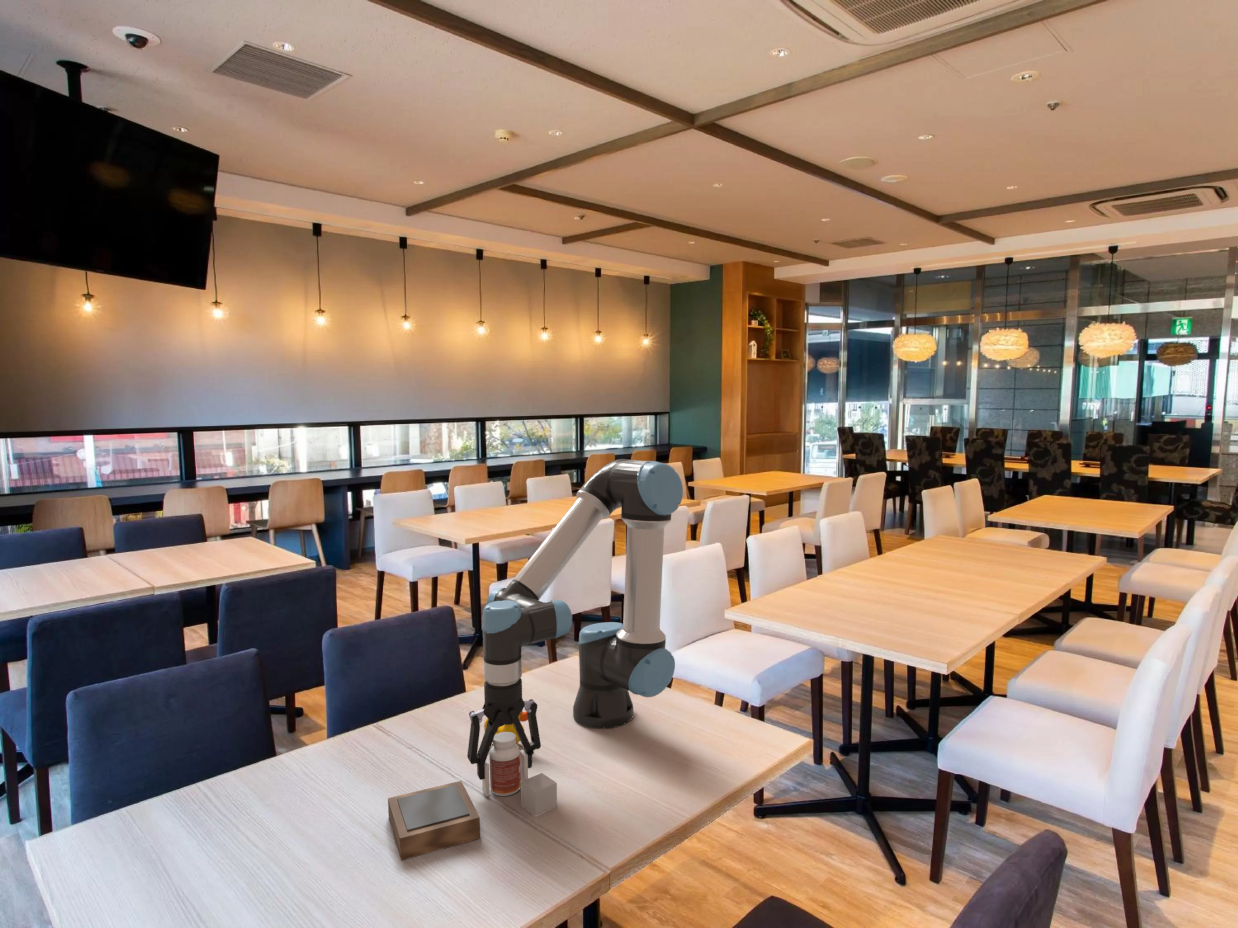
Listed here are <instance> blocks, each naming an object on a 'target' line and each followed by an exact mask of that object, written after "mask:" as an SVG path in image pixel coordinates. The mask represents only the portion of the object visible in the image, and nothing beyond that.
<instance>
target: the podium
mask: <svg viewBox="0 0 1238 928" xmlns="http://www.w3.org/2000/svg"><path fill="white" fill-rule="evenodd" d="M387 809H388V820H389V825H390V828H391V830H392V835H393V837H394V841H395V844H396V849H397V852H398V855H399V859H400V861H404V860H406V859H411V858H414V857H417V856H422V855H425V854H428V853H429V854H430V853H432V852H436V851H439V850H444V849H447V848H450V847H453V846H457V845H461V844H462V845H463V844H464V843H467V842H472V841H475V840H480V839H481V817H480V815H479V812H478V811H477V808H476V807H475V805H474V802H473V801H472V799H471V797H470V795H469V793H468V791H467V789H466V787H465V785H464V783H463V781H462V780H458V781H453V782H450V783H446V784H442V785H438V786H434V787H429V788H424V789H421V790H417V791H413V792H408V793H403V794H400V795H396V796H392V797H388V798H387Z"/></svg>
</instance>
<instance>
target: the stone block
mask: <svg viewBox="0 0 1238 928" xmlns="http://www.w3.org/2000/svg"><path fill="white" fill-rule="evenodd" d="M557 789H558V784H557V781H556V780H553V779H551V778H550V777H549V776H548V775H546V774H544V773H543V772H541V773H538V774H535V775H533V776H531V777H528V779H526V780H524V781H521V787H520V804H521V807H522V808H524V809H525V810H526V811H528V812H529V813H530V814H531V815H533V816H534V817H539V816H541V815H543V814H545V813H547V812H549V811H551V810H554V809H556V808H557V807H558V790H557Z"/></svg>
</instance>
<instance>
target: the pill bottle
mask: <svg viewBox="0 0 1238 928" xmlns="http://www.w3.org/2000/svg"><path fill="white" fill-rule="evenodd" d="M520 750H521V749H520V747H519V745H518V743H517V744H516V735H515V734H514V733H512V732H501V733H498V734H496V735H495V736H494V739H493V742H492V746H491V747H490V750H489V754H488V756H489V784H490V792H491V793H493V794H494V795H496V796H500V797H507V796H512V795H515V794H517V792H518V791H519V790H521V767H520Z"/></svg>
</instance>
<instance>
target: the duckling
mask: <svg viewBox="0 0 1238 928" xmlns="http://www.w3.org/2000/svg"><path fill="white" fill-rule="evenodd" d="M518 718H519V720H520V722H522V723H523V722H526V721H527V722H528V717H527V712H526V711H523V710H522V711H521V713H520V715H519V716H518ZM487 722H488V718H487V717H486V719H485V721H484V724H483V725H484V726H483V728H484V731H485V730H486V728H487ZM522 723H521V725H522V728H523V730H524V731H525V728H524V726H523V724H522ZM501 732H512V733H514V734H515V735H516V744H517V745H518V743H519V742H521V741H520V739H519V737H518V734H517V732H516V730H515V728H514V726H513V724H511V725H503V726H501V727H498V730H497V732H496V733H495V735H496V734H498V733H501Z"/></svg>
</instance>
